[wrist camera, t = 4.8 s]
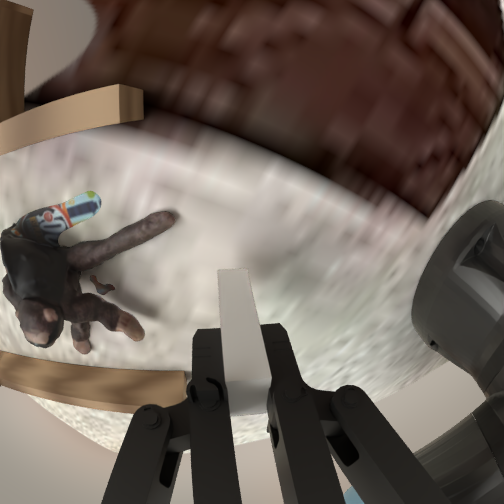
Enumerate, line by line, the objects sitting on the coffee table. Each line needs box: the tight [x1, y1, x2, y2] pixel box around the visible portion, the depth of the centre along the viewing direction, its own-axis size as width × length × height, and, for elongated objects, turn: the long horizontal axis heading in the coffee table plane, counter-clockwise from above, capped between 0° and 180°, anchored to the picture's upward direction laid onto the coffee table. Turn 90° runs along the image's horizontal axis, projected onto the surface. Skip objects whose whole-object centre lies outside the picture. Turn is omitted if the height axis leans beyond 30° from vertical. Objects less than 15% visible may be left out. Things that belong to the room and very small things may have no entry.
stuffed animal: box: [0, 191, 175, 354], centre depth 14 cm, size 12×10×12 cm
